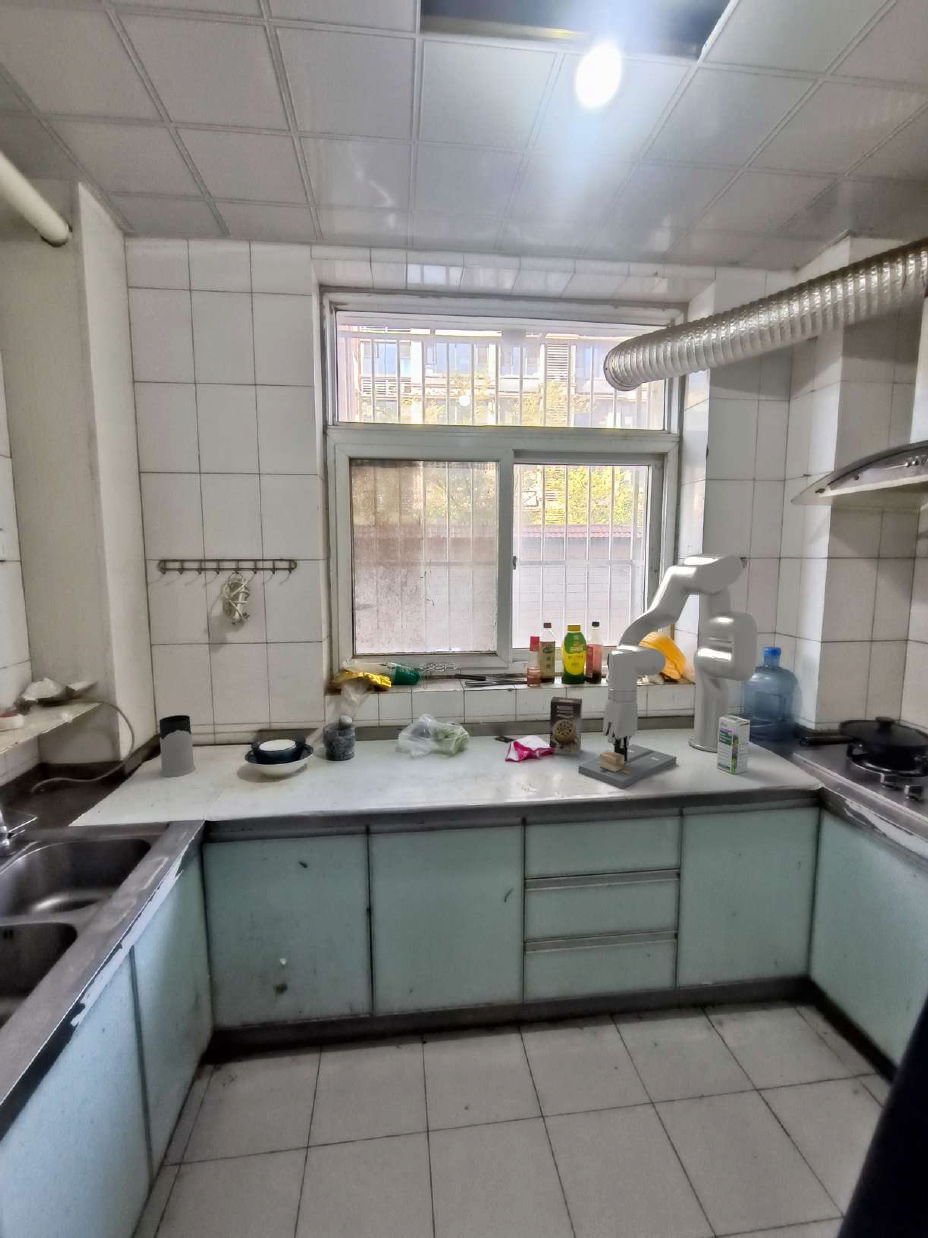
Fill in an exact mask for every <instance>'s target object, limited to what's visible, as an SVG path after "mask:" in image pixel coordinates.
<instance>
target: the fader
mask: <svg viewBox="0 0 928 1238" xmlns="http://www.w3.org/2000/svg"><path fill="white" fill-rule="evenodd" d="M599 757H600V760H599V766H600V767H603V768H606V769H608V770H611V771H614V772H616V771H618V770H621V769H623V768H624V755H621V754H618V753H615V752H614V751H613V750H606V751H603V752H600V753H599Z"/></svg>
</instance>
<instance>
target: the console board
mask: <svg viewBox="0 0 928 1238" xmlns="http://www.w3.org/2000/svg"><path fill="white" fill-rule="evenodd" d="M599 760H600V756H599V757H597V758H594V759H592V760H589V761H587V762H584V763H581V764H578V768H577V769H578V771H577V772H578V773H579V774H581V775H584V776H587V777H589V778H592V779H595V780H597V781H599V782H603V783H605V784H608V785H611V786H612V787H616V788H617V789H618V788H619V789H620V790H623V789H625V788H628V787H630V786H632V785H634V784H636V783H638V782H641V781H642V780H644V779H647V778H649V777H651V776H653V775H655V774H658V773H659V772H662V771H663V770H666V769H668V768H670V767H672V766H675V765H676V764H677V756H674V755H671V754H667V753H665V752H661V751H659V750H658V751H657V750H655V749H654V750H653V749H650V748H647V747H644V746H640V745H637V744H634V743H633V744H629V746H628V752H627V761H625V762H624V768H623V769H621V770H618V771H616V772H614V771H611V770H608V769H606V768H603V767H600V766H599Z"/></svg>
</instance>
